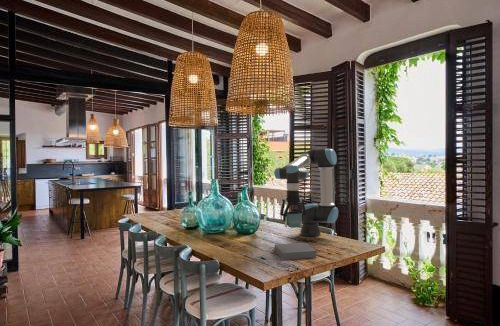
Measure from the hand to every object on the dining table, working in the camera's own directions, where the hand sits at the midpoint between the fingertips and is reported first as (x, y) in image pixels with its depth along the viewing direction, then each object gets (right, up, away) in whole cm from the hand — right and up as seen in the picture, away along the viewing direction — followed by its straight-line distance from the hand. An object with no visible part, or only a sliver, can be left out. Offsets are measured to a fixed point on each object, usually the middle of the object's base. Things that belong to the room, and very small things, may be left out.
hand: (293, 226), depth 209 cm
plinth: (0, -16, -3) cm, 16 cm away
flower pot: (0, -1, 0) cm, 1 cm away
